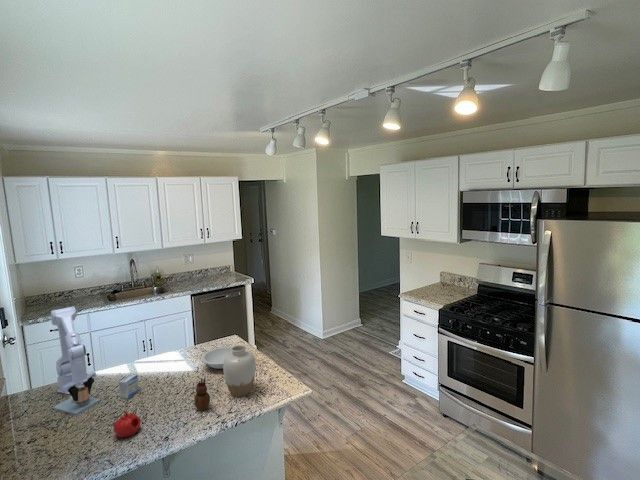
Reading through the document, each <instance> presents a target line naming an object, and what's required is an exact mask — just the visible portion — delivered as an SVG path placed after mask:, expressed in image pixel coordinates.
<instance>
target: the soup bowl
mask: <svg viewBox="0 0 640 480" xmlns="http://www.w3.org/2000/svg"><path fill="white" fill-rule="evenodd" d="M234 346H235V345H234ZM234 346H232V345H231V346H220V347H216V348H212V349H210V350H207V351H206V352H205V353H203V355H202V356H201V361H202V362H203V363H204V364H206V365H208V367H210V368H212V369H215V370H216V369H217V370H218V369H219V370H220V369H221V370H223V363H224V360H225V358H226V356H227V355H229V354H230V353H232V351H231V349H232V347H234Z"/></svg>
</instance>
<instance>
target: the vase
mask: <svg viewBox="0 0 640 480" xmlns="http://www.w3.org/2000/svg"><path fill="white" fill-rule="evenodd" d="M246 349H247V346H246V345H243V344H242V345H241V344H240V345H234V347H232V349H231V351H232V353H230V354H229V355H227V356H226V358H225V360H224V363H223V369H222V370H223V376H224V377H223V378H224V380H225V384H226V386H227V389H228V390H229V392H230V394H231V396H233V397H236V396H237V398H238V397H245V396H247V395H249V394H250V393H251V391H252V389H253V385H254V382H255V377H256V370H257V367H256V366H257V365H256V363H257V362H256V359H255V356H254V354H253V353H252V352H250V351H247V350H246Z"/></svg>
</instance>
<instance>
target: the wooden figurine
mask: <svg viewBox="0 0 640 480" xmlns="http://www.w3.org/2000/svg"><path fill="white" fill-rule="evenodd" d="M195 387H196V388H195V393H196V394H195V395H194V398H193V399H194V400H193V401H194V405H195V408H196V409H197V410H198V411H206V410H208V408H209V406H210V404H211V403H210V402H211V398H210V394H209V393H208V392H207V391H208V387H207V385H206V377H204V379H203V378H200V380H198V382H197V383H196V386H195ZM205 409H206V410H205Z"/></svg>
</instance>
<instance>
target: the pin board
mask: <svg viewBox="0 0 640 480" xmlns="http://www.w3.org/2000/svg"><path fill="white" fill-rule="evenodd" d="M89 397H90V399H89V401H88V402H86V403H84V404H80V405H77V404H75V401H74V400H73V398H72V396H71V395H70V397H69V398H68V399H65V400H64V401H62V402H59V403H58V404H57V405H54V406H53V407H52V409H53V410H56V411H60V412H64V413H67V414H71V415H75V416H78V415H79V414H81V413H82V412H83V411H86V410H87V409H89V408H91V407H92V406H94V405H96V404H98V403H100V402H101V399H100V398H95V397H93V396H89Z"/></svg>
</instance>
